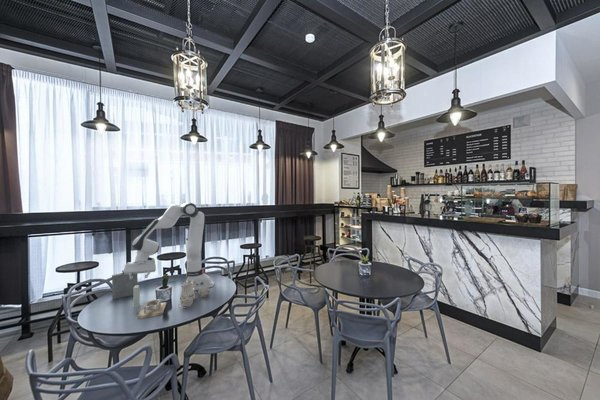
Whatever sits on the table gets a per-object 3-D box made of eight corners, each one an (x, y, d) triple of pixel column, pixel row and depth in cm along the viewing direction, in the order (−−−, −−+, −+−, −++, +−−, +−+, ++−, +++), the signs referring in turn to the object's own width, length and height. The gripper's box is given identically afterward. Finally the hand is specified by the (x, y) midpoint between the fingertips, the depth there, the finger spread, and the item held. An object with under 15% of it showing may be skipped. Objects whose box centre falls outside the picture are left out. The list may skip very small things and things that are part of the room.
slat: (139, 304, 173) (139, 285, 172) (137, 307, 168) (137, 287, 168) (135, 305, 172) (135, 285, 171) (133, 308, 167) (133, 288, 167)
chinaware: (188, 313, 162) (190, 289, 161) (167, 309, 166) (169, 285, 165) (212, 296, 190) (213, 275, 189) (193, 292, 193) (194, 272, 192)
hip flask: (112, 299, 182) (111, 272, 181) (113, 297, 185) (112, 271, 185) (137, 294, 190) (137, 269, 190) (138, 292, 194) (137, 267, 193)
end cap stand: (166, 304, 173) (166, 296, 173) (162, 314, 158) (162, 306, 158) (143, 307, 168) (143, 299, 168) (137, 318, 153) (137, 310, 153)
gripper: (124, 260, 179) (120, 278, 170) (156, 258, 186) (153, 274, 177) (126, 264, 183) (122, 282, 174) (157, 262, 191) (155, 278, 182)
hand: (138, 278), depth 176 cm, fingers open, 8 cm apart
